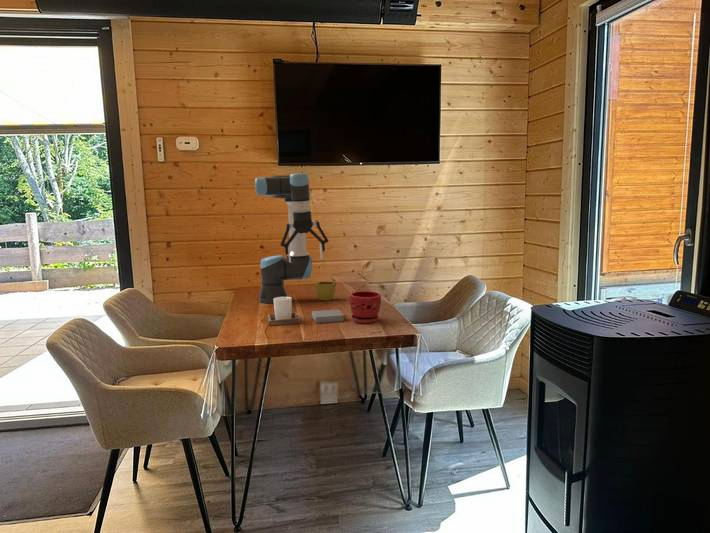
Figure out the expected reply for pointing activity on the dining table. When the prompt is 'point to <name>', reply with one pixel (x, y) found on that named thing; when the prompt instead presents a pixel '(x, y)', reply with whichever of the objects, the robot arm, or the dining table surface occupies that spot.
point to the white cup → (282, 307)
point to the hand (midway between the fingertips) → (306, 260)
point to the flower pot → (325, 290)
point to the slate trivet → (327, 316)
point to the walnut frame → (283, 320)
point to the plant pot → (365, 306)
